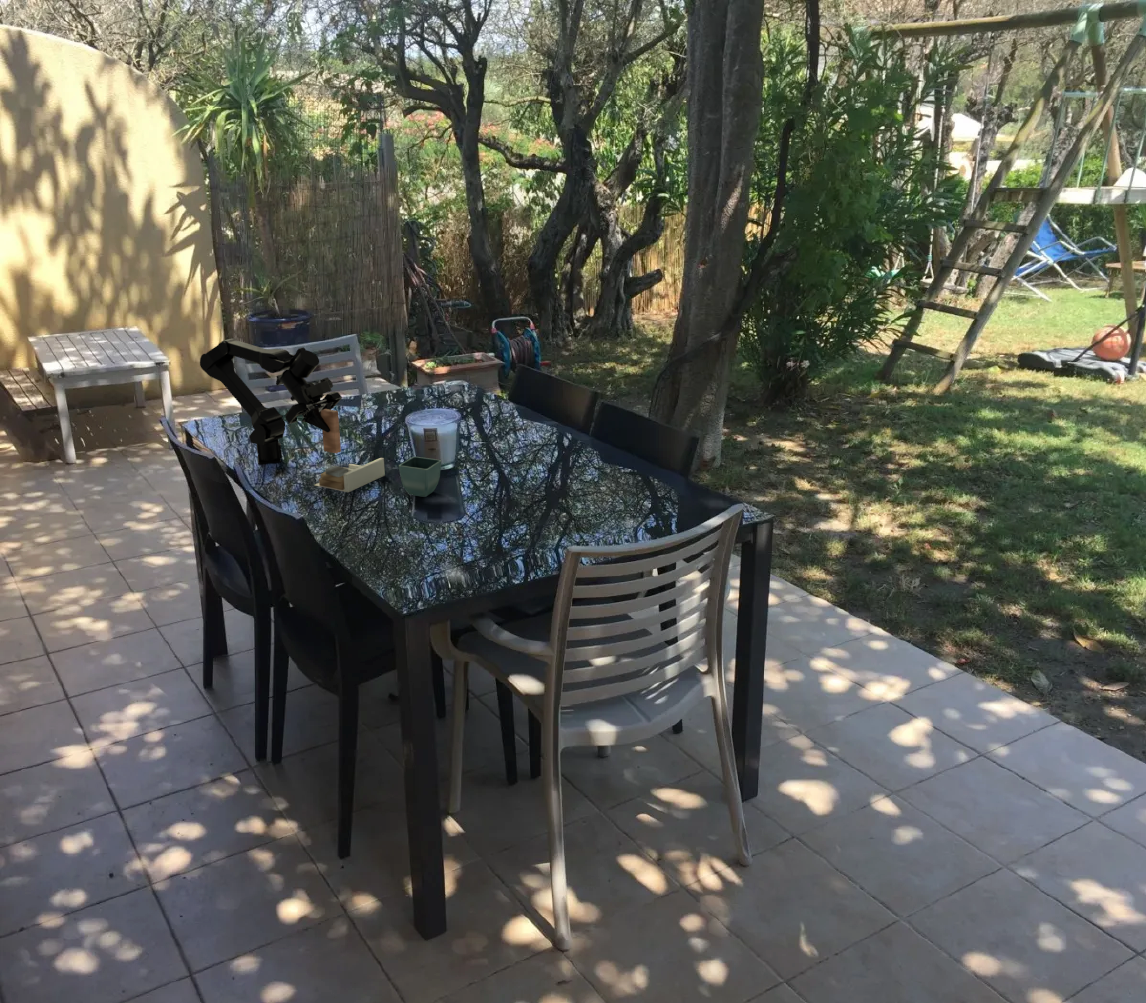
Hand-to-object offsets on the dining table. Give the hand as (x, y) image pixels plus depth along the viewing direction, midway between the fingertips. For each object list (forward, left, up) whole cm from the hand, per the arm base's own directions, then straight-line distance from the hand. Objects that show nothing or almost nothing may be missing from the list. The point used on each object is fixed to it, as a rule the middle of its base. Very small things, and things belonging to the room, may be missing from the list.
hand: (331, 430), depth 280 cm
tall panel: (0, 0, -6) cm, 6 cm away
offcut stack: (-1, -13, -12) cm, 18 cm away
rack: (+3, -10, -13) cm, 16 cm away
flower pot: (+21, -24, -13) cm, 34 cm away
